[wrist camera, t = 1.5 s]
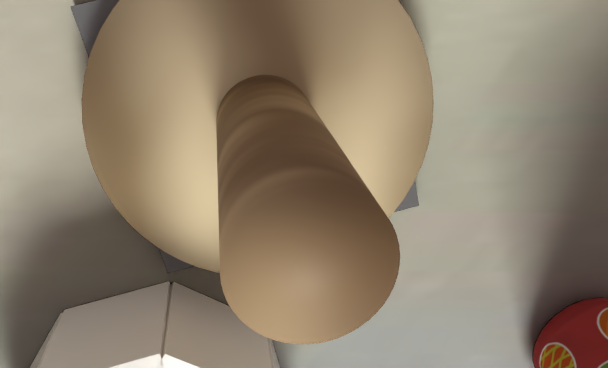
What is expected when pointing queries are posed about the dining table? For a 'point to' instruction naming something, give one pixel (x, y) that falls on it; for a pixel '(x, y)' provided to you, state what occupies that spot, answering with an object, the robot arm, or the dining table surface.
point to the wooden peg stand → (265, 147)
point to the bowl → (154, 334)
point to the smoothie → (575, 337)
